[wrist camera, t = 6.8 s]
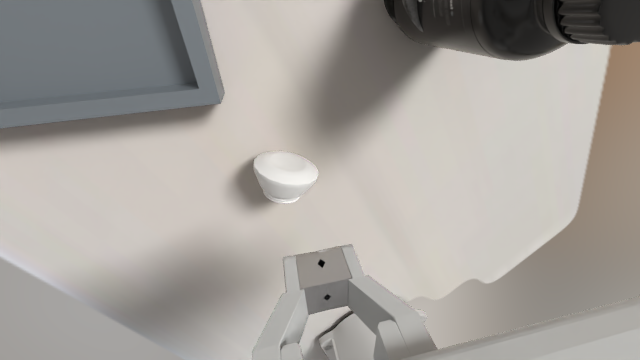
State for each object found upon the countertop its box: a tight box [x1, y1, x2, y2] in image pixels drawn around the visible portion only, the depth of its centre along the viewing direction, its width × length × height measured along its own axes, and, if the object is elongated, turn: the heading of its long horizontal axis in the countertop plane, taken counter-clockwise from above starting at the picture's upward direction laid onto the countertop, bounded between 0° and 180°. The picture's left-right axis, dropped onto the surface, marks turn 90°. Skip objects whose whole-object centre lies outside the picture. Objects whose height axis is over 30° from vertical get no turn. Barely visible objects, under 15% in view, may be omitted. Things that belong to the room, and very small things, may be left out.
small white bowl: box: [254, 151, 319, 204], centre depth 20 cm, size 5×3×5 cm, turn 76°
